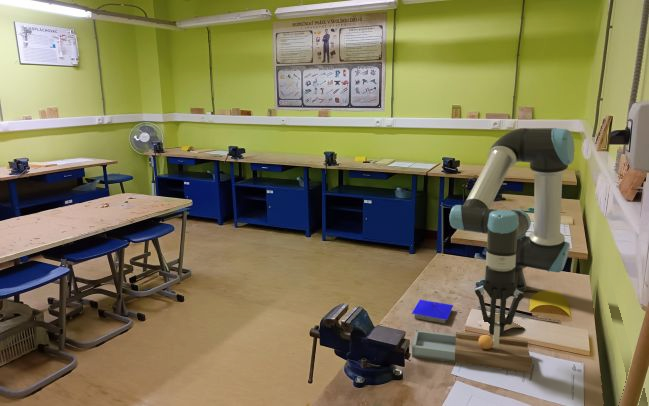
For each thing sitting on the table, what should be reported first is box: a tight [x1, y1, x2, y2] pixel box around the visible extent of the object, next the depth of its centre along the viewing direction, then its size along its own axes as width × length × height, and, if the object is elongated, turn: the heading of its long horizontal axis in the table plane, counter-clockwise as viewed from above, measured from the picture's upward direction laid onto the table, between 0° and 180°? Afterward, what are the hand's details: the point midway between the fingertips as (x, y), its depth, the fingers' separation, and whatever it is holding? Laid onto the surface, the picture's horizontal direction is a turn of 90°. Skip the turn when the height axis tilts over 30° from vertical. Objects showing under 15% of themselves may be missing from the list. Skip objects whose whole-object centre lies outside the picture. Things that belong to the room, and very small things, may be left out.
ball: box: [478, 334, 493, 349], centre depth 127 cm, size 4×4×4 cm
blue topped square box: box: [411, 299, 454, 324], centre depth 155 cm, size 12×12×5 cm
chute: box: [455, 332, 533, 374], centre depth 127 cm, size 10×20×4 cm, turn 72°
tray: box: [411, 329, 456, 364], centre depth 132 cm, size 10×12×3 cm
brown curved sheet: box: [487, 312, 522, 332], centre depth 146 cm, size 14×10×3 cm
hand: (495, 344), depth 126 cm, fingers closed
